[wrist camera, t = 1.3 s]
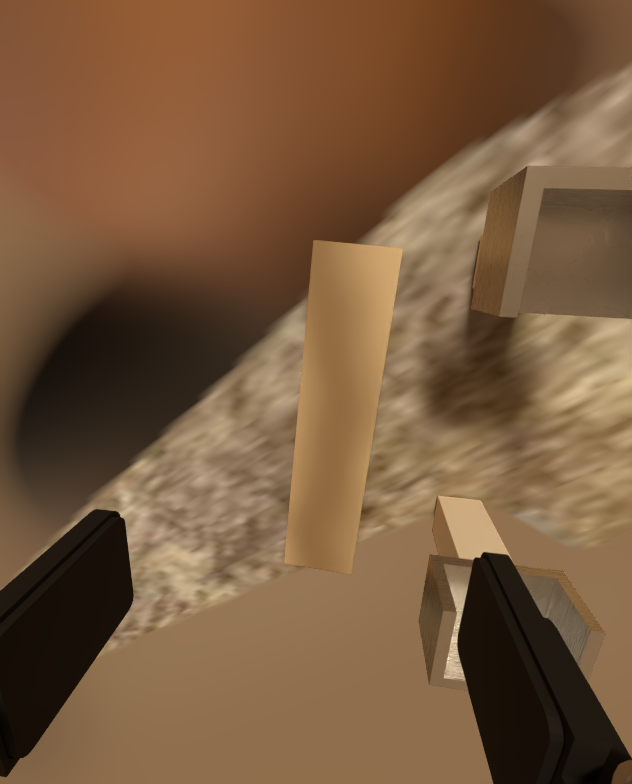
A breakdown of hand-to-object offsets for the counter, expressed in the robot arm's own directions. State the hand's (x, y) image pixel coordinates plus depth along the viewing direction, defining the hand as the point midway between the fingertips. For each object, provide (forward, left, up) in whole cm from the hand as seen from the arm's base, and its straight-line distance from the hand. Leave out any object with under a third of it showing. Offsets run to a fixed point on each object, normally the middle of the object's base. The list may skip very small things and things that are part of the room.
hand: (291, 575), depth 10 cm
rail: (0, 0, -17) cm, 17 cm away
